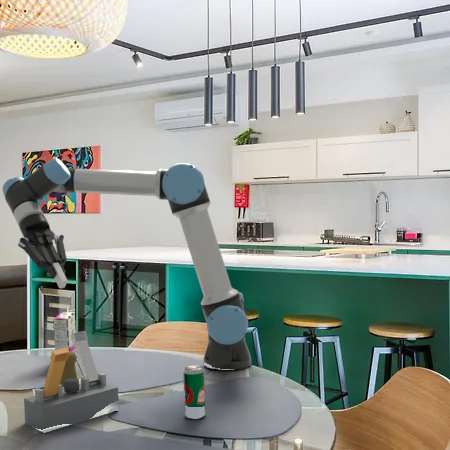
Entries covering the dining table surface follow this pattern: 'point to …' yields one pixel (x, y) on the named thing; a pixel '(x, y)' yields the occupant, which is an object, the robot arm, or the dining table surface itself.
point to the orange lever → (55, 372)
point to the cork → (69, 368)
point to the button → (71, 385)
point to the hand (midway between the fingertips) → (63, 284)
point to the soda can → (194, 386)
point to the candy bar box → (64, 331)
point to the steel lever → (85, 357)
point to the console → (69, 404)
